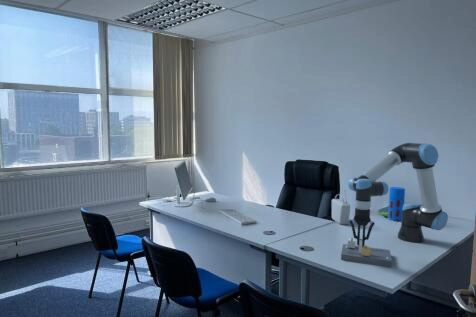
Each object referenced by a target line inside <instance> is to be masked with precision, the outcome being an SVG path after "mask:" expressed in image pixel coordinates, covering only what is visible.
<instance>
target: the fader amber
mask: <svg viewBox="0 0 476 317" xmlns="http://www.w3.org/2000/svg"><path fill="white" fill-rule="evenodd" d="M370 247H371V246H370V245H368V244H367V245H366V244H365V245H364V246H362V255H363V256H370Z"/></svg>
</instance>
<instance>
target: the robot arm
mask: <svg viewBox="0 0 476 317" xmlns="http://www.w3.org/2000/svg"><path fill="white" fill-rule="evenodd" d="M438 160H439V152H438V150H437V147H436V146H434V145H433V144H430V143H416V142H405V143H402V144H400V145H397V146H396V147H393V148H392V149H391V150H389V151H388V152H387V153H386V156H384V157H383V158H382V159H380V160H379V161H378V162H377V163H375V164H374V165H372V166H371V167H370V168H369V169H367V170H366V171H365V172H364V173H363V174H361V175H360V176H358V177H351V178H350V179H349V180H348V184H347V185H348V188H349V190H350V191H353V192H355V200H354V201H355V203H354V204H355V205H354V206H355V208H354V217H353V218H349V223H350V226H351V230H352V235H353V239H356V246H359V252H361V253H362V246H364V245H366V243H365V242H366V240H367V241H368V240H369V238H370V235H371V232H372V229H373V227H374V226H375V225H376V224H375V221H373V220H371V216H370V215H371V203H372V197H382V196H385V195H387V194H388V193H389V191H390V188H389V185H388V184H387V182H384V181H378V180H379V179H380V178H381V177H383V176H384V175H385V174H386V173H388V172H389V171H390V170H392V169H393V168H394V167H395V166H399V165H401V164H403V163H411V164H412V166H411V167H412V168H413V169H414V170H415V171H416V176H417V183H418V188H419V190H418V191H419V193H420V194H419V195H420V200H421V203H417V202H416V203H415V202H412V203H410V202H409V203H404V205H403V209H402V221H401V225H400V228H399V230H398V232H397V238H398V239H400V240H402V241H405V242H409V243H422V242H424V241H425V240H424V239H425V238H424V237H425V236H424V232H423V229H422V227H424V228H427V229H431V230H436V231H441V230H442V229H444V228H445V227H446V225H447V223H448V220H449V216H448V213H447V212H446V211H443V208H442V206H441V204H439V200H438V194H437V188H436V187H437V186H436V182H435V176H434V169H433V168H434V167H435V166H436V164H437V162H438ZM354 223H356V225H357V233H356V228H355V224H354ZM368 224H369V227H368V230H367V234H366V226H367V225H368ZM361 226H362V237H361Z"/></svg>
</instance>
